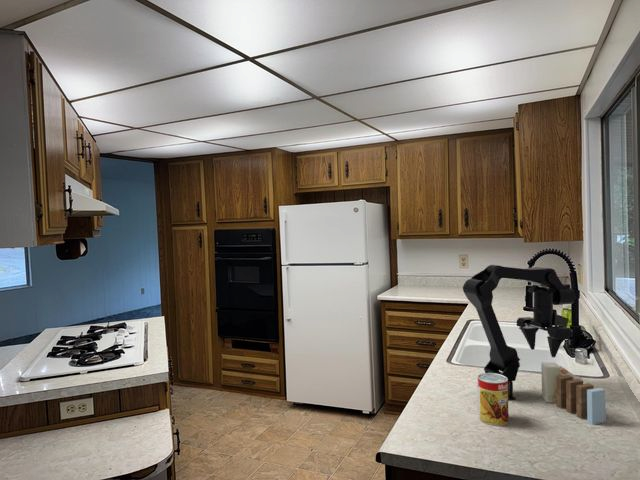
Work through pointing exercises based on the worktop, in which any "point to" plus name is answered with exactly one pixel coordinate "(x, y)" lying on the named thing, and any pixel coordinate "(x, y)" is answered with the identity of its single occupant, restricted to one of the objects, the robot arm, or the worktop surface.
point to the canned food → (493, 399)
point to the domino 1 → (562, 390)
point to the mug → (566, 372)
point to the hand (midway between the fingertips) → (542, 353)
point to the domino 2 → (572, 395)
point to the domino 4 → (596, 406)
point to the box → (550, 380)
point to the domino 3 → (582, 399)
